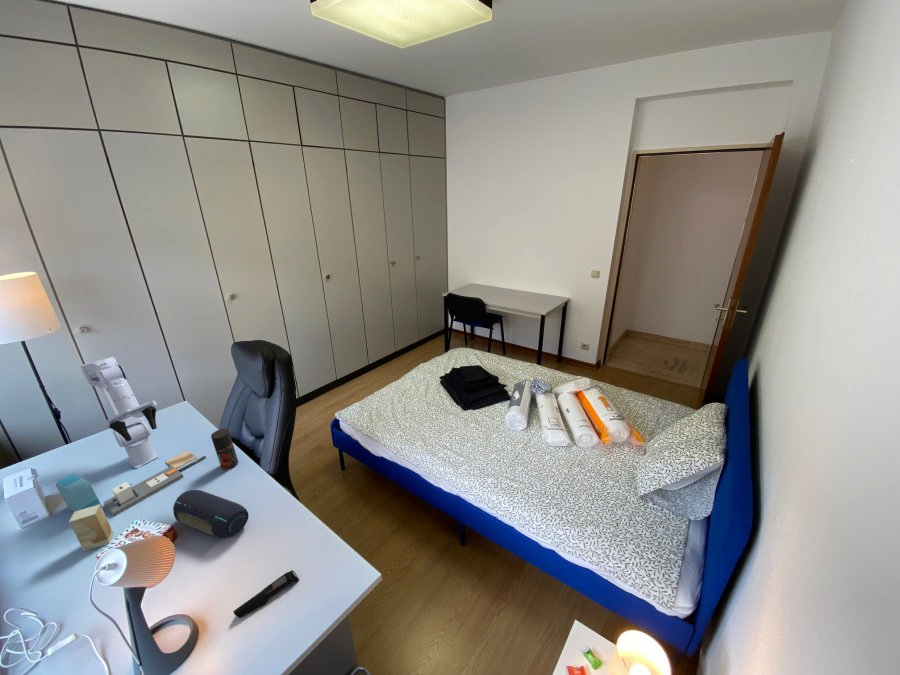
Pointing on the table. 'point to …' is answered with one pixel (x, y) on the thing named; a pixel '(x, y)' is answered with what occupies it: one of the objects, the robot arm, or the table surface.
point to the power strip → (149, 487)
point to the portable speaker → (210, 513)
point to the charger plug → (123, 493)
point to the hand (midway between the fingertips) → (142, 434)
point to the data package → (77, 493)
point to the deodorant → (224, 449)
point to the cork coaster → (181, 459)
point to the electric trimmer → (266, 594)
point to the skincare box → (91, 527)
